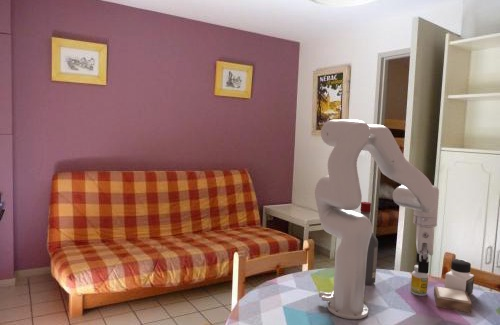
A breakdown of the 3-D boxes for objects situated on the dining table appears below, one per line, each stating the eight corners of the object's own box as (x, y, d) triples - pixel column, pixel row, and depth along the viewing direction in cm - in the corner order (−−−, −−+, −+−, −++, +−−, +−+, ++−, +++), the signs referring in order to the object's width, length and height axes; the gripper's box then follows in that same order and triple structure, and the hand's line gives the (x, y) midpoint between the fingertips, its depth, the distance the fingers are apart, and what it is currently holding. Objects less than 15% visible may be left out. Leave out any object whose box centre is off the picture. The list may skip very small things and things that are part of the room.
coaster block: (436, 306, 128) (437, 296, 127) (433, 294, 137) (434, 285, 137) (470, 312, 124) (471, 302, 124) (465, 299, 134) (466, 290, 133)
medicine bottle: (465, 299, 134) (468, 266, 132) (443, 292, 139) (446, 260, 138) (472, 294, 138) (475, 261, 137) (451, 287, 144) (454, 255, 143)
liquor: (352, 285, 142) (357, 205, 139) (345, 275, 151) (350, 199, 148) (376, 286, 142) (382, 205, 139) (368, 276, 151) (374, 200, 148)
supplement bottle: (416, 288, 142) (418, 263, 141) (429, 294, 137) (432, 267, 136) (407, 291, 139) (409, 265, 138) (420, 297, 134) (423, 270, 133)
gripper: (439, 228, 126) (436, 278, 128) (434, 215, 142) (431, 260, 144) (414, 225, 128) (411, 275, 130) (412, 213, 145) (409, 257, 147)
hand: (422, 267), depth 137 cm, fingers open, 9 cm apart
